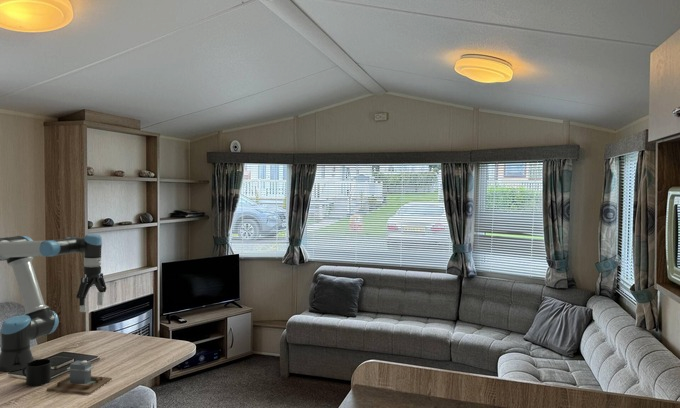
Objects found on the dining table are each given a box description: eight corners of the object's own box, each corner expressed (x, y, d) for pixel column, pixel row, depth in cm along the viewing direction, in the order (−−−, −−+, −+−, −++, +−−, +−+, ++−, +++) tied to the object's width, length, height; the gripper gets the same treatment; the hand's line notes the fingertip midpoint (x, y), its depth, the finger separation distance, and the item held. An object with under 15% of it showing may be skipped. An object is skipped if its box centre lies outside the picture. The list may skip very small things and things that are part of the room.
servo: (66, 383, 212) (67, 362, 211) (73, 379, 216) (73, 358, 216) (87, 385, 211) (87, 363, 210) (93, 381, 215) (94, 360, 215)
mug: (28, 377, 219) (29, 358, 219) (55, 378, 220) (55, 359, 219) (15, 386, 210) (15, 366, 210) (42, 386, 210) (43, 366, 210)
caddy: (46, 390, 207) (46, 385, 206) (71, 376, 222) (71, 371, 222) (89, 394, 204) (89, 389, 204) (111, 379, 220) (111, 374, 220)
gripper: (83, 270, 222) (82, 315, 222) (114, 262, 246) (113, 302, 247) (68, 269, 223) (67, 314, 223) (101, 261, 247) (100, 301, 248)
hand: (91, 308), depth 235 cm, fingers open, 13 cm apart
